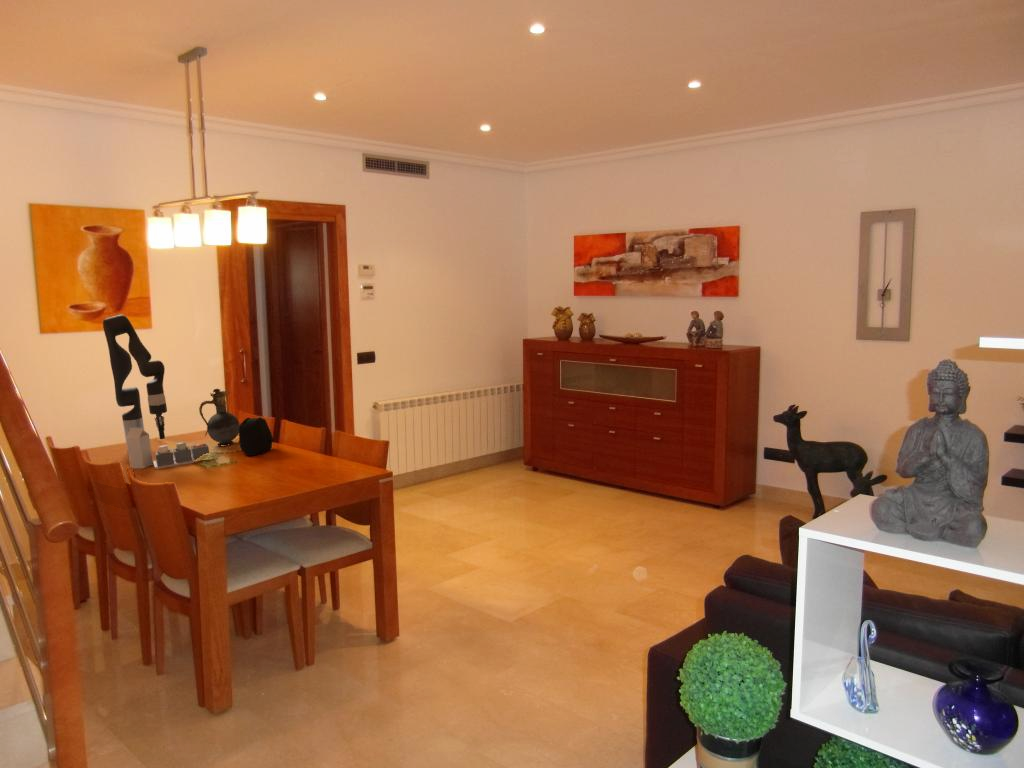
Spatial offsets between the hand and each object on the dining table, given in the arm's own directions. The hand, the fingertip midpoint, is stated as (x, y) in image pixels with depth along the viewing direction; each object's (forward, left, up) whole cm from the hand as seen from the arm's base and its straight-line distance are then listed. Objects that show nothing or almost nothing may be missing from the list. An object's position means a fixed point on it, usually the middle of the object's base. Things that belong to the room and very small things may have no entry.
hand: (162, 438), depth 364 cm
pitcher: (-20, +29, -13) cm, 37 cm away
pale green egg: (0, +8, -9) cm, 12 cm away
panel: (0, +8, -12) cm, 15 cm away
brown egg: (0, +16, -11) cm, 19 cm away
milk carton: (-4, -10, -13) cm, 17 cm away
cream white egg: (0, 0, -9) cm, 9 cm away
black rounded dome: (+8, +41, -13) cm, 43 cm away
